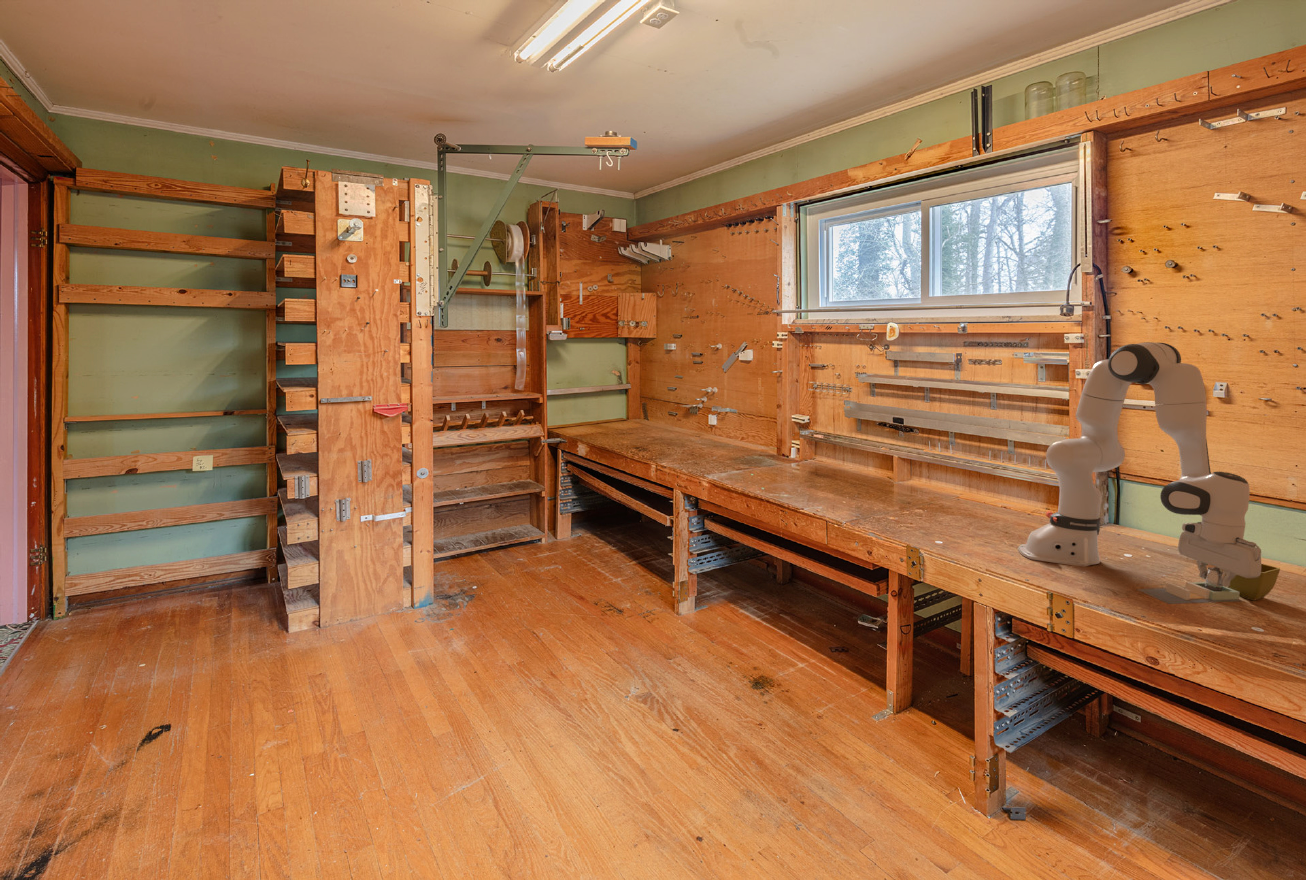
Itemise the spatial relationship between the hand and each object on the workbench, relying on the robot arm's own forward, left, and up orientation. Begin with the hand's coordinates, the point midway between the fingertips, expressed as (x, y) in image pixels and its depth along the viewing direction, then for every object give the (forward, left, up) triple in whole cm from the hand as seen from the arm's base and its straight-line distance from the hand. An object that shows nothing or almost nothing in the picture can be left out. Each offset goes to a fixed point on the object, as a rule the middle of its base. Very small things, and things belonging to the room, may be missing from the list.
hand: (1213, 581), depth 175 cm
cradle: (-7, -3, -4) cm, 9 cm away
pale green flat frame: (0, 0, -4) cm, 4 cm away
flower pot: (+10, +4, -5) cm, 12 cm away
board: (-6, -3, -4) cm, 8 cm away
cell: (0, 0, -3) cm, 3 cm away
